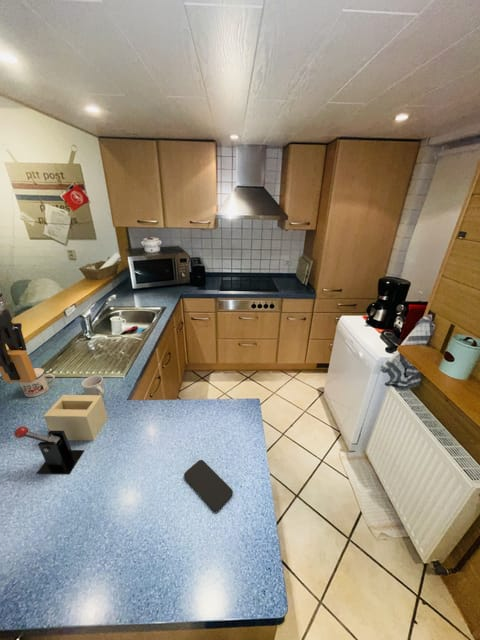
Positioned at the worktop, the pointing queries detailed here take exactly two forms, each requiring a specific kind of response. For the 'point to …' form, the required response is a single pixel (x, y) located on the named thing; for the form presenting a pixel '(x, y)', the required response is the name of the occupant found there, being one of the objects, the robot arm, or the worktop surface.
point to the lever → (35, 435)
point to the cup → (94, 385)
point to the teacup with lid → (37, 384)
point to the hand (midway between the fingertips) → (19, 376)
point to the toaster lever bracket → (58, 455)
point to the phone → (208, 485)
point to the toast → (20, 367)
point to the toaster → (77, 416)
